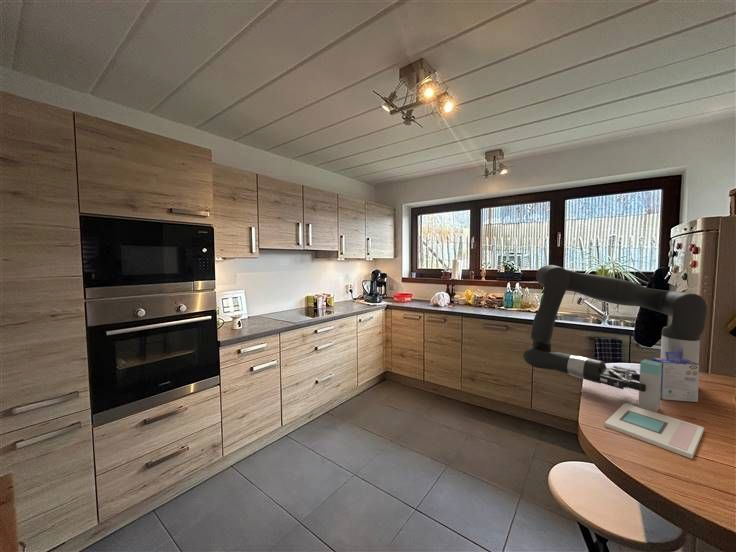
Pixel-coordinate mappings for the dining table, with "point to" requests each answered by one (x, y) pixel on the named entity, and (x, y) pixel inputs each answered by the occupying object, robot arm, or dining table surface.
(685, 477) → the dining table surface
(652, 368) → the teal-capped square post
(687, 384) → the ink cartridge box
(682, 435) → the picture board
